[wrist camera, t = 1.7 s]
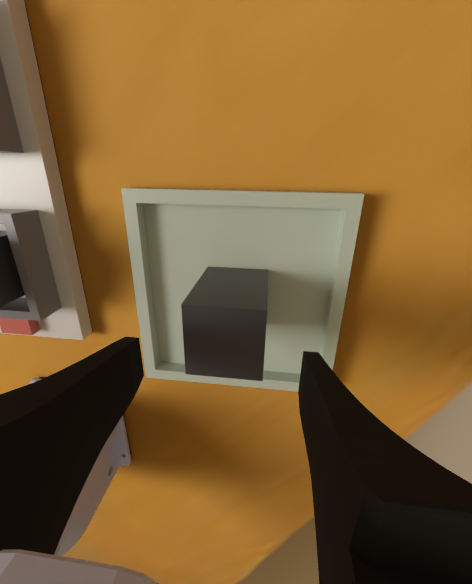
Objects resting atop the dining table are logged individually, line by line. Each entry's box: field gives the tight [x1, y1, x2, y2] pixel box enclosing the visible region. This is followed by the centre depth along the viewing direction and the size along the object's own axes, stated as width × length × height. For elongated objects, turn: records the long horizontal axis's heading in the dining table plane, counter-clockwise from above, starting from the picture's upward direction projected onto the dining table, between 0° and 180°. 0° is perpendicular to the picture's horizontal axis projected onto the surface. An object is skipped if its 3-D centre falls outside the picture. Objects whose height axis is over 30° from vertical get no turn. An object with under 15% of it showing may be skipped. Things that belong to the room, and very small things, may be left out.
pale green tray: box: [121, 187, 364, 391], centre depth 19 cm, size 14×14×1 cm
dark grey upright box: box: [181, 266, 269, 381], centre depth 16 cm, size 4×4×6 cm
